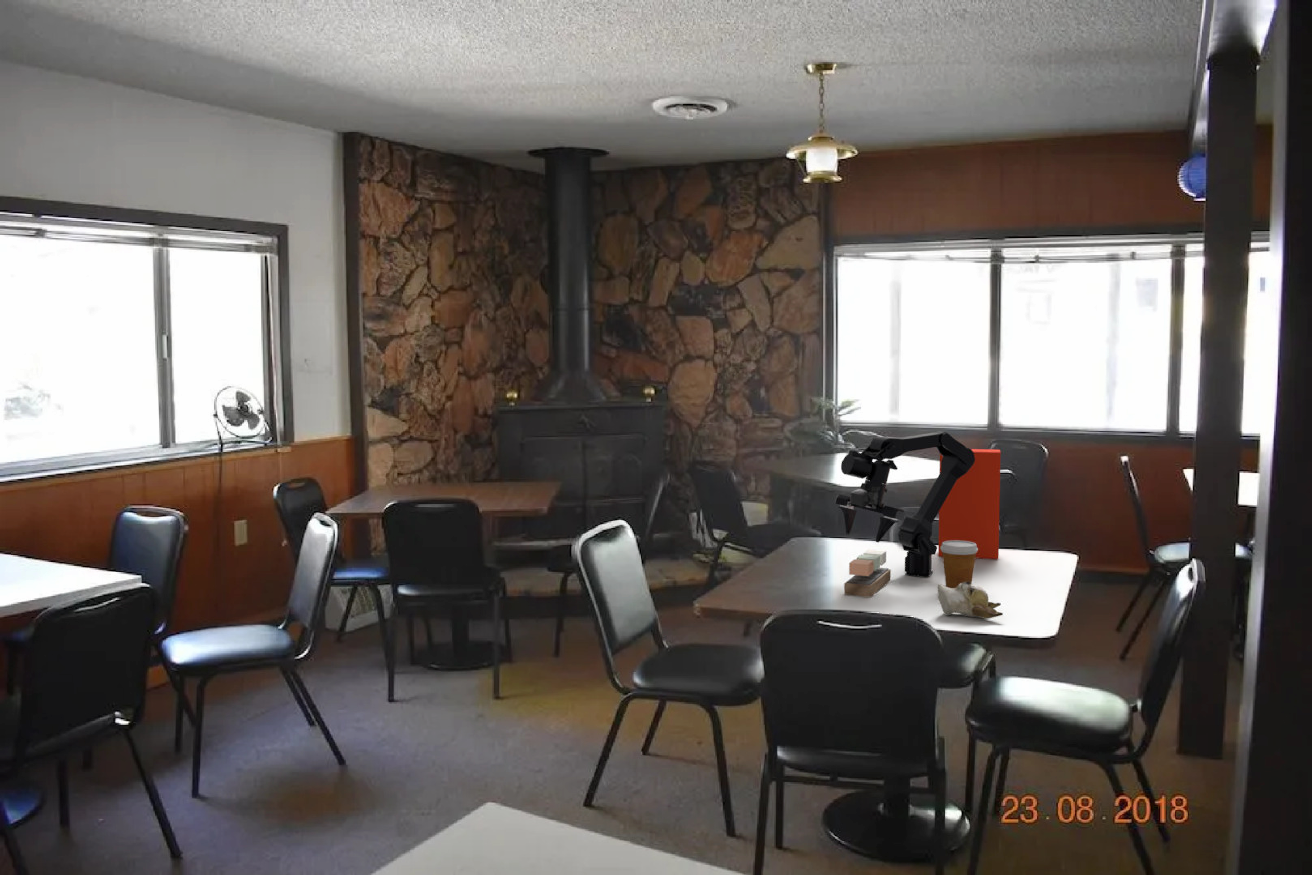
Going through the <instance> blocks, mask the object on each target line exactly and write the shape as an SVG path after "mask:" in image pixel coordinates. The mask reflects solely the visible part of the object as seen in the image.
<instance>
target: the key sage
mask: <svg viewBox="0 0 1312 875" xmlns="http://www.w3.org/2000/svg"><path fill="white" fill-rule="evenodd" d="M856 559H857V560H869V561H873V571H875V570H877V569H878V568H881V565H880V556H875V555H863V554H862V553H861V554H859V555H858V556H857V557H856Z"/></svg>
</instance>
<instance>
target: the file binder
mask: <svg viewBox="0 0 1312 875" xmlns="http://www.w3.org/2000/svg"><path fill="white" fill-rule="evenodd" d="M970 449H971V450H972V451H973V453H974V456H975V462H974V464H973V466H972V467H971V468H970V469H969V471H968V472H967V473H966V474H964V475H963V476H961V477H960V478H959V479H957V481H956V482H955V484H954V486H953V488H952V489H951V491H950V493H949V495H948V496H947V498H946V500H945V502H944V503H943V505H942V507H941V509H940V510H939V512H938V546H937V550H938V552H937V553H938V557H939V558H941V557H942V558H943V555H942V551H941V549H940V547H941V546H942V542H945V541H955V540H957V541H969V542H973V543H976V546H977V548H978V551H977V553H976V557H975V559H982V560H983V559H985V560H987V559H991V560H999V551H1000V550H999V549H1000V548H999V546H1000V501H1001V500H1000V499H1001V498H1000V496H1001V493H1000V492H1001V454H1002V453H1001V452H1002V451H1001V450H1000V449H995V448H994V449H993V448H991V449H990V448H989V449H988V448H987V449H985V448H984V449H981V448H980V449H979V448H970ZM942 458H943V456H942V455H941V454H940V453H939V473H940V472H941V461H942Z"/></svg>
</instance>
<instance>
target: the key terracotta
mask: <svg viewBox="0 0 1312 875" xmlns="http://www.w3.org/2000/svg"><path fill="white" fill-rule="evenodd" d="M848 565H849V566H848V569H849V570H848V574H849V575H850V576H851V575H853V576H855V575H861V576H869V575H870V574H872V573H873V561H869V560H857V558H855V559H853V560H852V561H850V562H849V564H848Z"/></svg>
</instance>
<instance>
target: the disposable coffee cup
mask: <svg viewBox="0 0 1312 875" xmlns="http://www.w3.org/2000/svg"><path fill="white" fill-rule="evenodd" d="M940 549H941V551H942V555H943V557H942V562H943V570H944V571H943V572H944V581H945V587H948V588H956V587H957V586H958V585H959V584H960V583H963V582H966V581H970V583H971V585H973V584H972V583H973V576H974V570H975V563H976V558H975V557H976V553H977V551H978V548H977V546H976V543H973V542H969V541H957V540H955V541H945V542H942V546H941V547H940Z"/></svg>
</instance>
